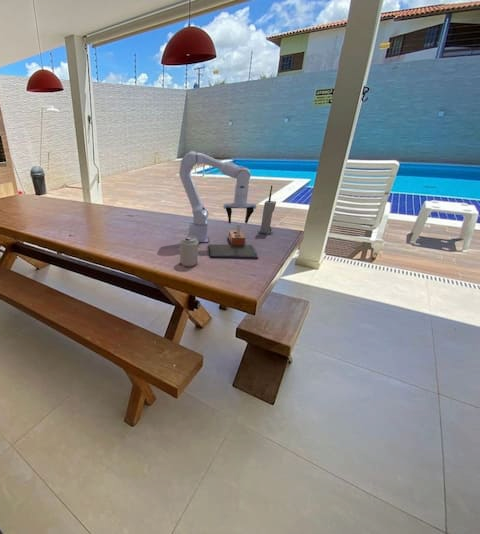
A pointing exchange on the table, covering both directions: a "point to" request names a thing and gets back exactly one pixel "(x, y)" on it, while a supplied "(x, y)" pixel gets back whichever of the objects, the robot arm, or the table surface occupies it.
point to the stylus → (238, 230)
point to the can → (189, 251)
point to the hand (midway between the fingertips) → (237, 222)
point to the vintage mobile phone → (267, 215)
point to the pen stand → (236, 238)
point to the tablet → (232, 251)
